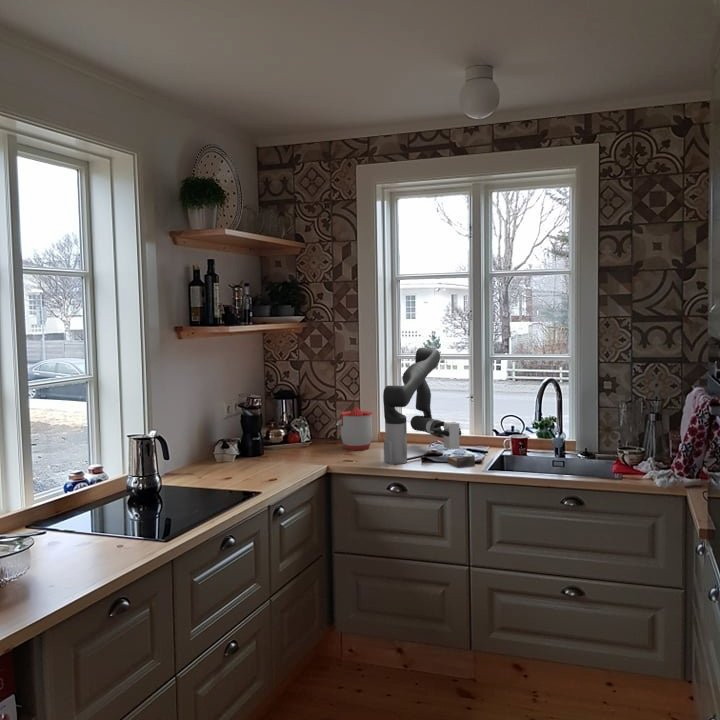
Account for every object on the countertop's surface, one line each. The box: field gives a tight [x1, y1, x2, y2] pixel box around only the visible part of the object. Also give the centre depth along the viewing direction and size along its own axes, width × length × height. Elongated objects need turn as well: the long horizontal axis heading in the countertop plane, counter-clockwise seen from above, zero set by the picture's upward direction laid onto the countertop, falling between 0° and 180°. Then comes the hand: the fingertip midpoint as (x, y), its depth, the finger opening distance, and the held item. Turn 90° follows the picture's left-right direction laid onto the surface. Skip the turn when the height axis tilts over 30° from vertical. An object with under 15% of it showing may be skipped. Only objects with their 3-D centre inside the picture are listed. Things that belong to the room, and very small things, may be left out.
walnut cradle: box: [447, 455, 476, 468], centre depth 304 cm, size 8×9×4 cm
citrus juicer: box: [336, 406, 373, 451], centre depth 342 cm, size 16×17×20 cm
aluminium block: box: [443, 421, 460, 450], centre depth 315 cm, size 5×5×11 cm
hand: (454, 433), depth 313 cm, fingers closed on aluminium block, 5 cm apart
